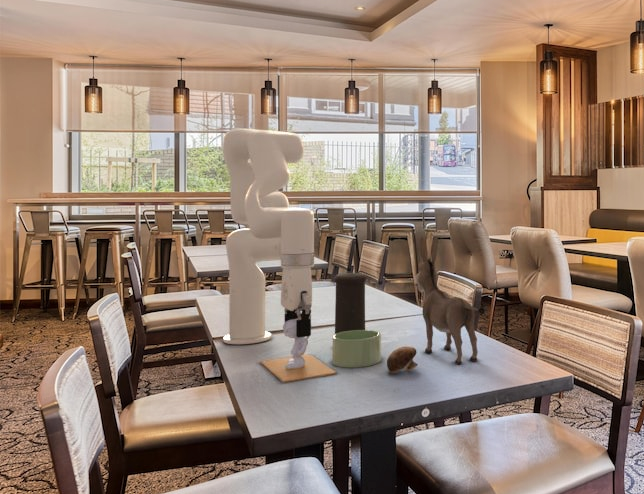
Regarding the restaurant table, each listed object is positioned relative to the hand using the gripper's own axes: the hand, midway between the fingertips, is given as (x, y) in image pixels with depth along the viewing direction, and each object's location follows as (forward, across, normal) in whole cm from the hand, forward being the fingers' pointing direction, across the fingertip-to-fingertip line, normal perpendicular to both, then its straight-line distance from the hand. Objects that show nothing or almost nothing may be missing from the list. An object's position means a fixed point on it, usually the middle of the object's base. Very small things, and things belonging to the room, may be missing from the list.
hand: (297, 332), depth 148 cm
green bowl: (+8, +2, +14) cm, 16 cm away
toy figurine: (+8, 0, 0) cm, 8 cm away
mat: (+8, 0, 0) cm, 8 cm away
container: (+9, -13, +18) cm, 24 cm away
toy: (+8, +10, +36) cm, 38 cm away
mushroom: (+8, +17, +19) cm, 27 cm away
